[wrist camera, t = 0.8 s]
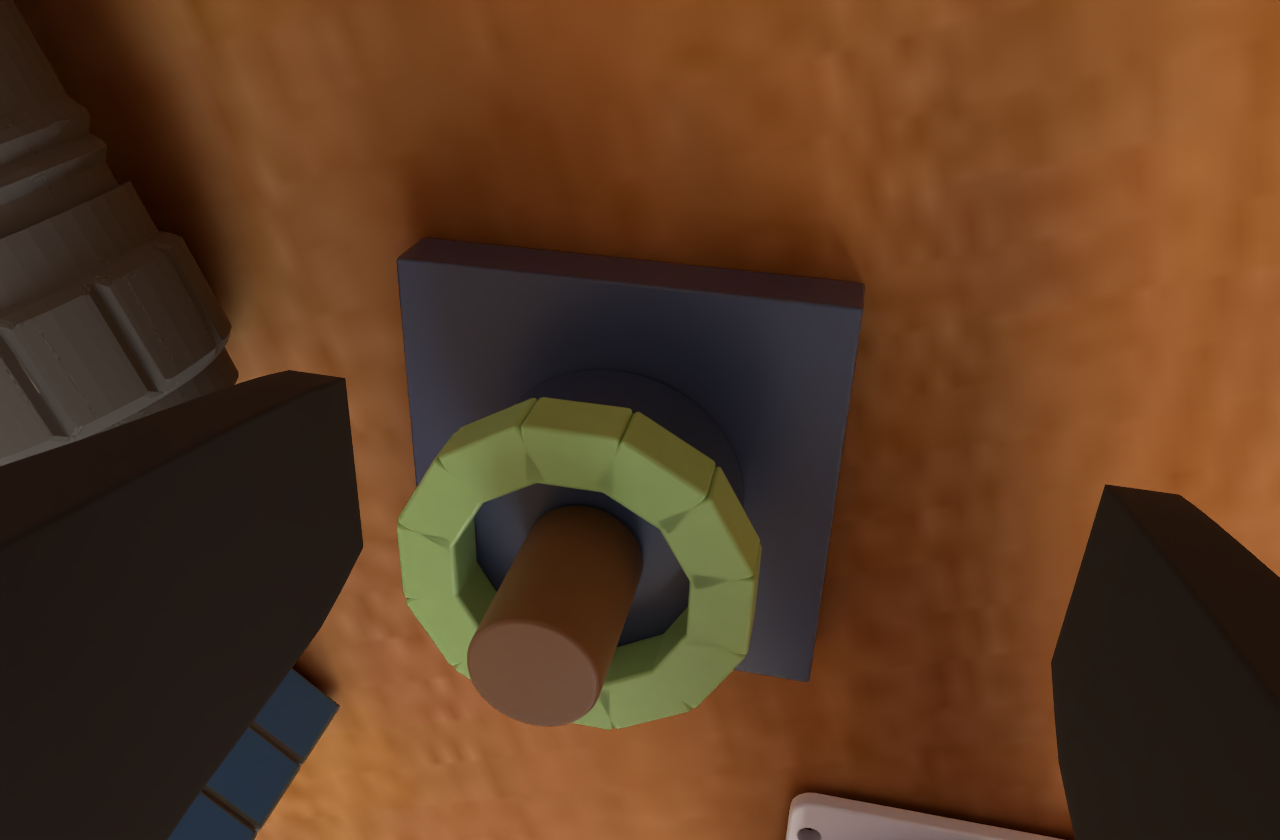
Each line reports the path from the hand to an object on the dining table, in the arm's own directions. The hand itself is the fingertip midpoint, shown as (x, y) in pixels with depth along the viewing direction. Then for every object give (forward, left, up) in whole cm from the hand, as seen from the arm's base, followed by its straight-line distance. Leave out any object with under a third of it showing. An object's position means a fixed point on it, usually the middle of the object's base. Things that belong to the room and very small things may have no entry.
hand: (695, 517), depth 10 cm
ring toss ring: (-5, +3, -5) cm, 8 cm away
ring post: (-5, +3, -9) cm, 10 cm away
